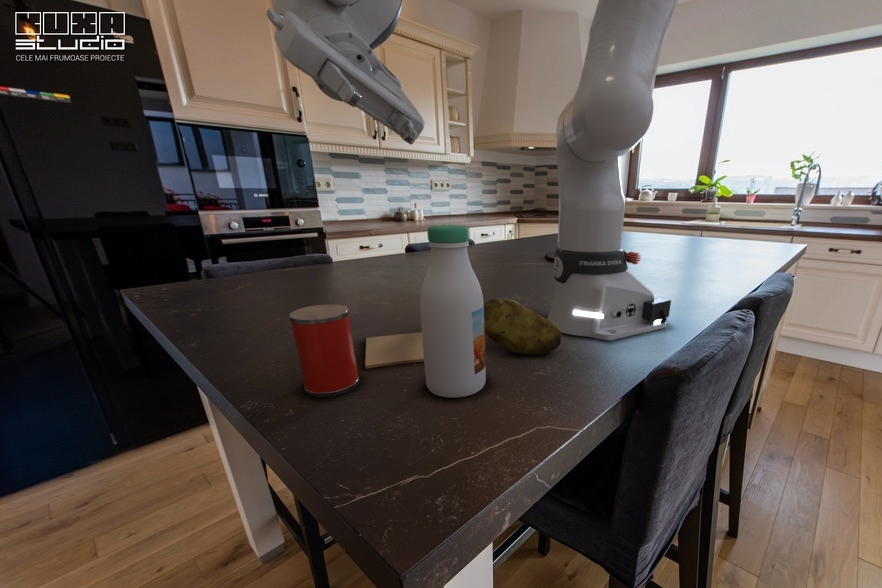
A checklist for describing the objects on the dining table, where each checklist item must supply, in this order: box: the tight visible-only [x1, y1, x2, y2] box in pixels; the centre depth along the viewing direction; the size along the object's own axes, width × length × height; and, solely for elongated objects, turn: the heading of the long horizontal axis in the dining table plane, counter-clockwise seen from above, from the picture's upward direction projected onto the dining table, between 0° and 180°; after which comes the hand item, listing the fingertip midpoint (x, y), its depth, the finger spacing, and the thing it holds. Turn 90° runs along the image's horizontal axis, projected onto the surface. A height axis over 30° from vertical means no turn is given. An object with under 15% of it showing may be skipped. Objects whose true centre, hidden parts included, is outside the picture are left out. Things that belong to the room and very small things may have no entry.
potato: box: [483, 297, 562, 356], centre depth 62 cm, size 8×13×8 cm, turn 54°
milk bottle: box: [419, 224, 487, 399], centre depth 48 cm, size 8×8×20 cm
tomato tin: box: [288, 303, 360, 398], centre depth 50 cm, size 6×6×10 cm
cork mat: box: [364, 331, 424, 370], centre depth 63 cm, size 12×12×1 cm
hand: (384, 120), depth 50 cm, fingers open, 8 cm apart
